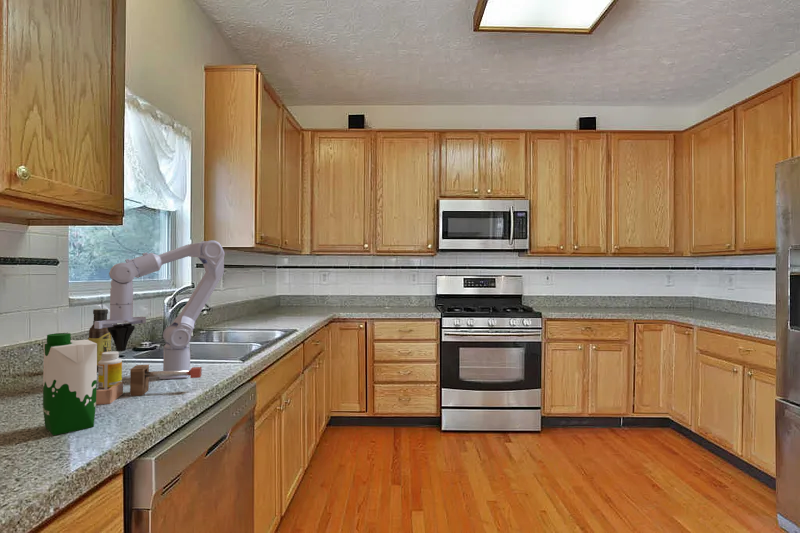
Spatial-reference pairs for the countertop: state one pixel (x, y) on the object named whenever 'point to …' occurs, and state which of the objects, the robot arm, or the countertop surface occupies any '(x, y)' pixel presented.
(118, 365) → the supplement bottle
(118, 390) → the dock
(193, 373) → the lock pin
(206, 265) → the robot arm
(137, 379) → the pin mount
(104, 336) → the sauce bottle
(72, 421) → the milk carton
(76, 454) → the countertop surface
